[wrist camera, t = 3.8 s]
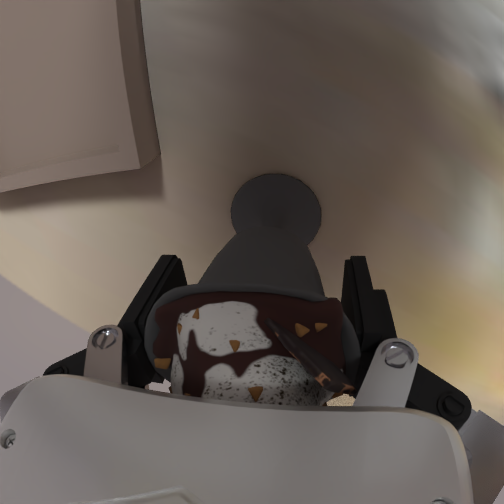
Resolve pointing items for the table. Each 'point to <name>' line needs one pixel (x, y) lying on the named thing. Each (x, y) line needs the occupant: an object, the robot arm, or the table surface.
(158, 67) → the table surface
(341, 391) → the sundae
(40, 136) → the tray
